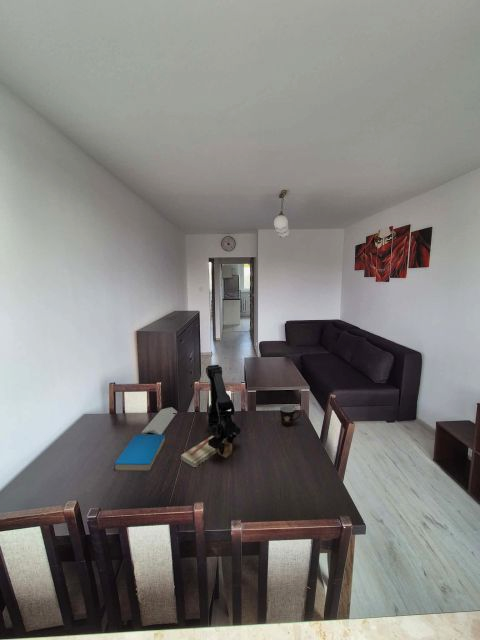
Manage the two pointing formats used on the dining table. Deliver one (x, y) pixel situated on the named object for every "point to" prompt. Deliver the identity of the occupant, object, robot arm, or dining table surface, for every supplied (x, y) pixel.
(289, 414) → the coffee mug
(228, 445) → the block
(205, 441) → the carpenter pencil
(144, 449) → the book
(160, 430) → the crown molding
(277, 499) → the dining table surface
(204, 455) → the plank
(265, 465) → the dining table surface
